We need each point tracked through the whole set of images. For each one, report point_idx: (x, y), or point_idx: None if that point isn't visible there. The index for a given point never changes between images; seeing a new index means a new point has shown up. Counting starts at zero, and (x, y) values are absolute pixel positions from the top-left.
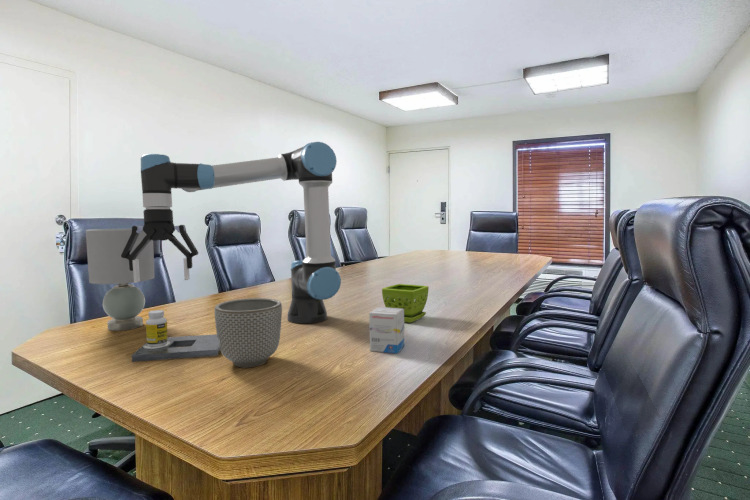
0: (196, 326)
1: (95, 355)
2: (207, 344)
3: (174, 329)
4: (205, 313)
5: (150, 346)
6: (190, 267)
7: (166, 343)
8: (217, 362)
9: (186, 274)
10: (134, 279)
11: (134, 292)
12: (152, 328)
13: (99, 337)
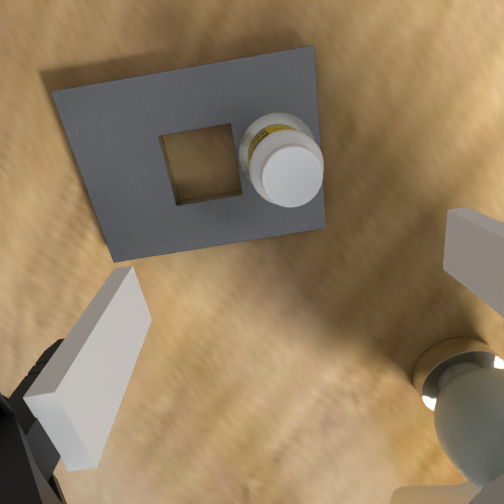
0: (262, 368)
1: (443, 122)
2: (113, 152)
3: (312, 345)
4: (287, 467)
5: None
6: (55, 344)
7: None
8: (21, 18)
9: (103, 289)
10: (476, 214)
11: (487, 453)
12: (284, 128)
13: None
